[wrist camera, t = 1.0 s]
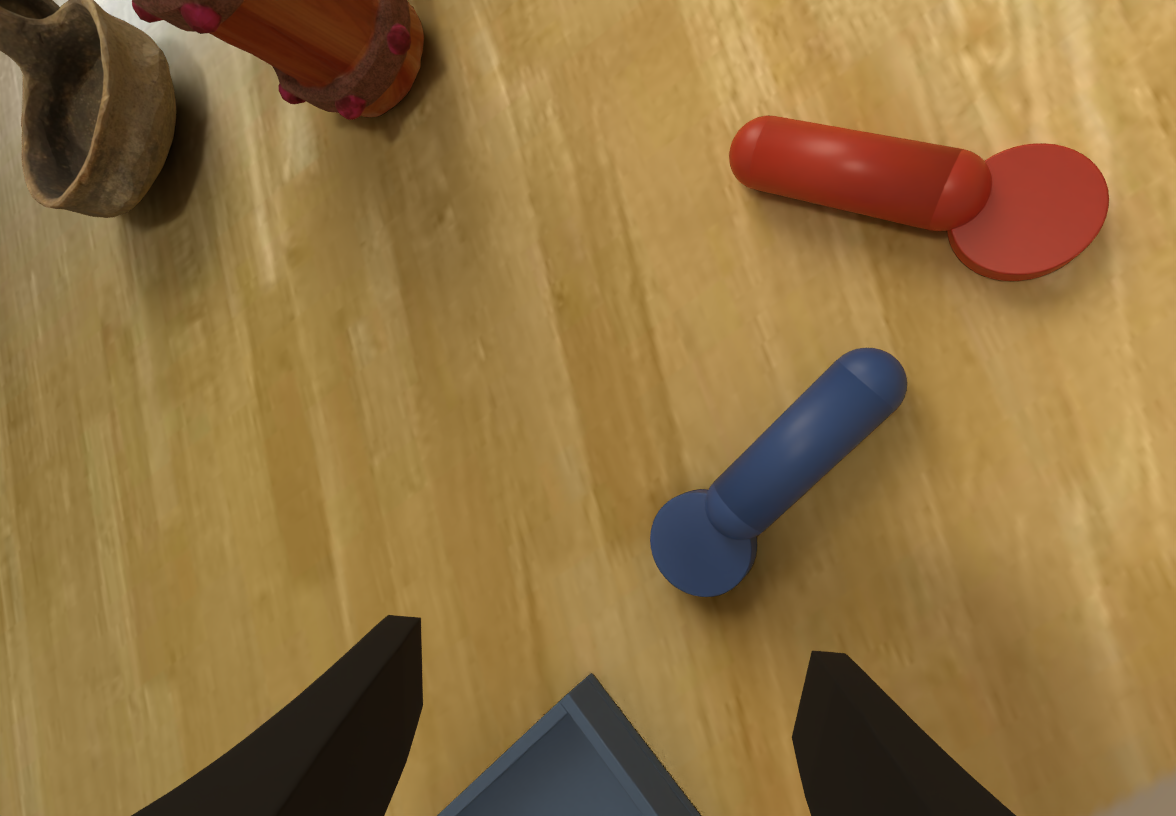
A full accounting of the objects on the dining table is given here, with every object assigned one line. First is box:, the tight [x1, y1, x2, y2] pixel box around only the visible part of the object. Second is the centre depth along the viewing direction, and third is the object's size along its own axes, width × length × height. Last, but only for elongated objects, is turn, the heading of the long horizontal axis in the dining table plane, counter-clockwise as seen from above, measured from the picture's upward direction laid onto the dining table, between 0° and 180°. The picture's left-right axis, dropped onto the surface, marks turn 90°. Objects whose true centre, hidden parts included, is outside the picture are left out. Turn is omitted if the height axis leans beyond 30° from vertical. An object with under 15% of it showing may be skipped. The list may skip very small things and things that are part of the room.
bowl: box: [0, 0, 176, 218], centre depth 40 cm, size 14×18×10 cm
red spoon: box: [729, 116, 1109, 281], centre depth 21 cm, size 12×4×3 cm, turn 68°
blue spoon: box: [650, 348, 907, 597], centre depth 23 cm, size 12×4×3 cm, turn 136°
